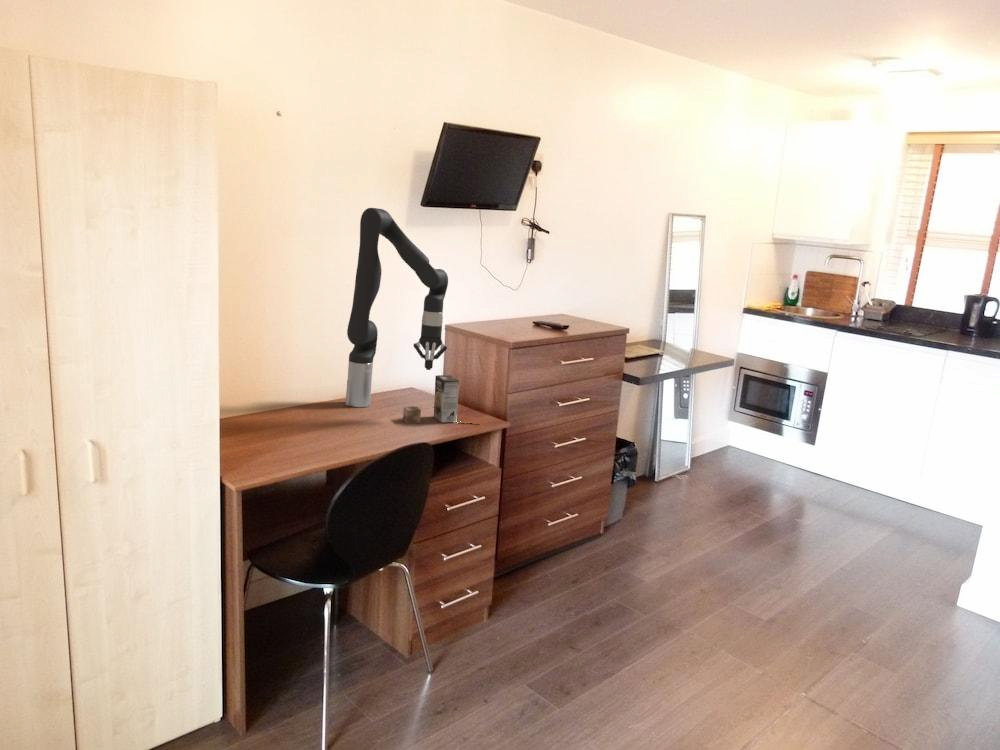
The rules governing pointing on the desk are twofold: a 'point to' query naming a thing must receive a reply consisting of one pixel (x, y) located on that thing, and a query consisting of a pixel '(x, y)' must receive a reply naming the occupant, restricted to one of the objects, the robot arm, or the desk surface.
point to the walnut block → (411, 414)
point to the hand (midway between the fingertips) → (428, 369)
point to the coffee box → (446, 398)
